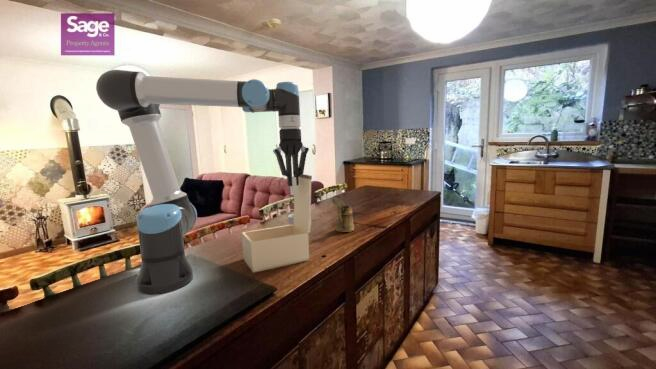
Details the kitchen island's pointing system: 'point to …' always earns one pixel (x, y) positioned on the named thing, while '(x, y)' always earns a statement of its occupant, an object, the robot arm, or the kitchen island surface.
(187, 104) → the robot arm
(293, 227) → the carton
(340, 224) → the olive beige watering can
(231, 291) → the kitchen island surface
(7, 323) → the kitchen island surface
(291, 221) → the teacup
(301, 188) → the lid
